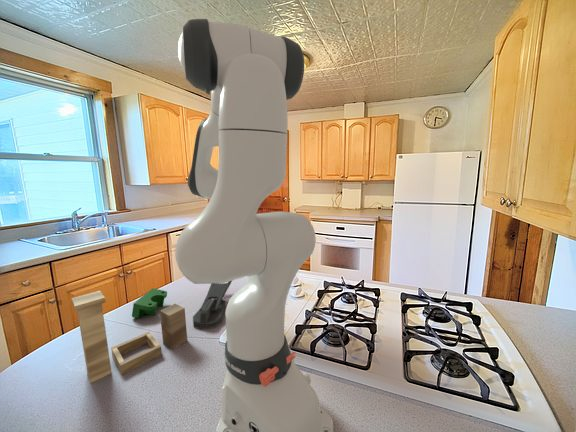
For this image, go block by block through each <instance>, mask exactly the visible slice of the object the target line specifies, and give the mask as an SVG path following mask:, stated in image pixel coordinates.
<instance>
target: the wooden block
mask: <svg viewBox="0 0 576 432" xmlns="http://www.w3.org/2000/svg"><path fill="white" fill-rule="evenodd" d="M159 314H160V315H159V316H160V324H161V336H162V345H164V346H165V347H167V348H168V349H170V350H172V351H173V350H175V349H177V348H178V347H180V346H181V345H183V344H185V343H186V342H188V334H187V321H186V320H187V319H186V309H185V307H183V306H181V305H179V304H176V303H174V304H172V305H169V306H168V307H165V308H162V309H161V310H159Z"/></svg>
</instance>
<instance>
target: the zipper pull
mask: <svg viewBox="0 0 576 432" xmlns="http://www.w3.org/2000/svg"><path fill="white" fill-rule="evenodd" d="M232 282H233V281H229V282H225V283H211V284H210V286H209V289H208V291H207V294H206V296H205V298H204V301H203V303H202V305H201V306H200V308H199V309H198V311H197V312H196V313H195V314H194V315H193V316H192V324H193V328H194V329H195V328H196V329H198V330H199V329H200V330H206V329H207V330H208V329H214V328H216V327H218V326H219V325H220V324H222V322H223V317H224V314H225V311H226V307H227V305H226V303H227V302H226V300H224V299H223V298H224V297H225V296H226V293H227V291H228V289H229V287H230V285H231V284H232Z"/></svg>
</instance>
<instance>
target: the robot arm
mask: <svg viewBox="0 0 576 432" xmlns="http://www.w3.org/2000/svg"><path fill="white" fill-rule="evenodd" d="M177 49H178V50H177V53H178V60H179V63H180V67H181V69H182V71H183V74H184V75H185V80H186V81H187V82H188V83H189V84H190V85H191V86H193V88H196V89H198V90H200V91H203V92H204V93H205V94H207V95H210V96H211V97H210V112H209V116H208V117H206V118H204V119H202V121H201V122H200V123H199V125H198V128H197V131H196V134H195V141H194V147H193V154H192V160H191V167H190V170H189V172H188V173H189V174H188V178H187V186H188V189H189V191H190V192H191V194H192V195H194V196H198V197H201V198H205V199H207V200H209V201H208V202H207V204H206V206H205V207H204V208H203V210H202V211H201V213H200V214H199V215H198V216H197V217H196V218H195V219H194V220H193V221H191V222H190V223H189V224H187V225H185V226H186V227H184V228H183V230H182V231H181V232H180V235H179V236H178V238H177V241H176V244H175V248H174V249H175V250H174V252H175V255H174V256H175V261H176V264H177V267H178V270H179V271H180V272H181V274H182V275H183V276H184V277H185V278H186V280H188V281H189V282H190V283H192V284H195V285H205V284H207V285H208V284H210V285H211V283H228V282H229V281H232V282H234V281H235V280H240V279H244V278H247V280H246V282H244V284H243V285H242V286H241V287H240V288H239V289H237V290H236V292H235V293H233V294H232V296H231V297H230V298H229V300H228V301H227V302H228V303H227V305H226V307H225V311H224V314H225V331H226V332H225V333H226V341H225V344H224V360H225V362H224V363H225V367H226V372H225V376H224V379H223V384H222V388H221V399H220V401H221V403H220V404H221V406H220V418H219V421H218V423H217V425H216V430H215V432H334V420H333V418H332V417H331V416H330V414H329V413H327V411H326V410H325V409H324V407H323V406H321V405H320V400H319V396H318V395H317V392H316V391H315V389H314V388H313V387H312V385H311V383H312V381H311V377H310V375H309V374H308V373H307V372H301V370H300V368H299V367H298V366H297V364H296V363H295V361H294V359H295V358H296V357H297V356H296V351H293V352H292V353H291V349H290V346H289V342H288V339H287V337H286V335H285V316H286V315H285V314H286V303H287V299H288V295H289V293H290V289H291V286H292V284H293V281H294V280H295V277H296V276H297V274H298V272H299V270H300V269H301V267H302V266H303V264H305V262H306V261H307V260H308V259H309V258H310V257H311V256H312V254H313V252H314V250H315V246H316V240H317V238H316V232H315V228H314V226H313V224H312V222H311V220H310V219H309V218H308V217H307V216H305V215H304V214H303V213H297V212H291V211H290V212H289V211H282V210H281V211H271V212H262V213H260V212H259V213H257V212H258V210H259V208H260V206H261V205H262V203H263V202H264V200H265V199H267V197H269V196H270V195H271V194H274V192H277V191H278V190H279V189H280V188H281V187H282V186H283V184H284V182H285V180H286V176H287V152H288V151H287V148H288V124H289V123H288V122H289V121H288V103H287V100H291V99H293V98H294V97H295V96H296V95H297V94H298V93H299V91H300V89H301V87H302V84H303V80H304V75H305V56H304V52H303V50H302V48H301V45H300V44H299V43H298V42H296V41H294V40H292V39H290V38H288V37H287V36H284V35H283V36H278V35H274V34H272V33H269V32H267V31H262V30H259V29H255V28H251V27H249V26H248V25H243V24H238V23H232V22H231V23H230V22H222V21H221V22H220V21H209V20H208V18H195V19H194V18H193V19H188V20H187V21H186V23H185V24H184V25H183V26H182V31H181V33H180V37H179V40H178V47H177ZM214 147H218V166H217V167H218V169H217V168H215V167H213V166H212V165H211V160H212V155H213V150H214Z"/></svg>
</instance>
